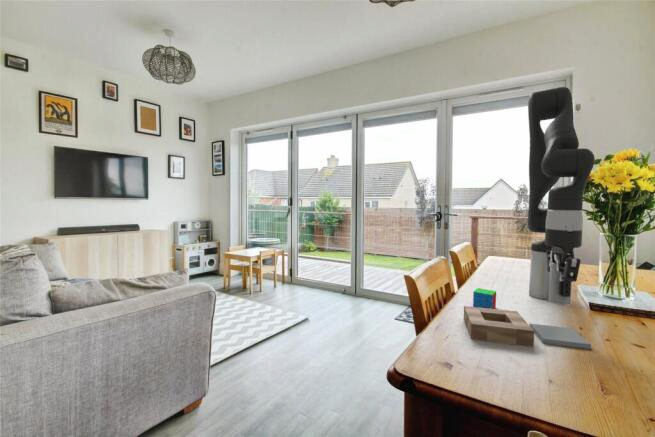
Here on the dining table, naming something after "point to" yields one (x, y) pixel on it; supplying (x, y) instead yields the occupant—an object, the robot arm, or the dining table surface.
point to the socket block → (498, 326)
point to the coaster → (560, 336)
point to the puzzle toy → (484, 298)
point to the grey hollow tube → (556, 287)
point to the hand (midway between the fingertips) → (560, 292)
